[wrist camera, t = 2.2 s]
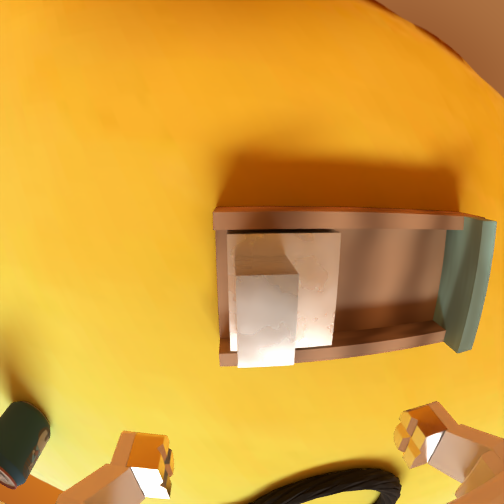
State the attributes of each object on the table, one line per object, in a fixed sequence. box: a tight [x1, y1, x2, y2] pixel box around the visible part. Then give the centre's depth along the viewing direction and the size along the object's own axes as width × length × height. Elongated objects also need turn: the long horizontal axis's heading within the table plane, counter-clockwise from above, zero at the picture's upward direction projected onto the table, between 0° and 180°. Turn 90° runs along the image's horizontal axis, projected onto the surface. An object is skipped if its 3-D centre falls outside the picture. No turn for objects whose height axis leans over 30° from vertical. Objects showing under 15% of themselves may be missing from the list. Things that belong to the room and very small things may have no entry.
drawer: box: [213, 206, 497, 366], centre depth 23 cm, size 24×12×6 cm, turn 90°
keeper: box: [227, 229, 341, 368], centre depth 21 cm, size 8×9×7 cm
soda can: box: [0, 401, 50, 489], centre depth 23 cm, size 7×7×12 cm
